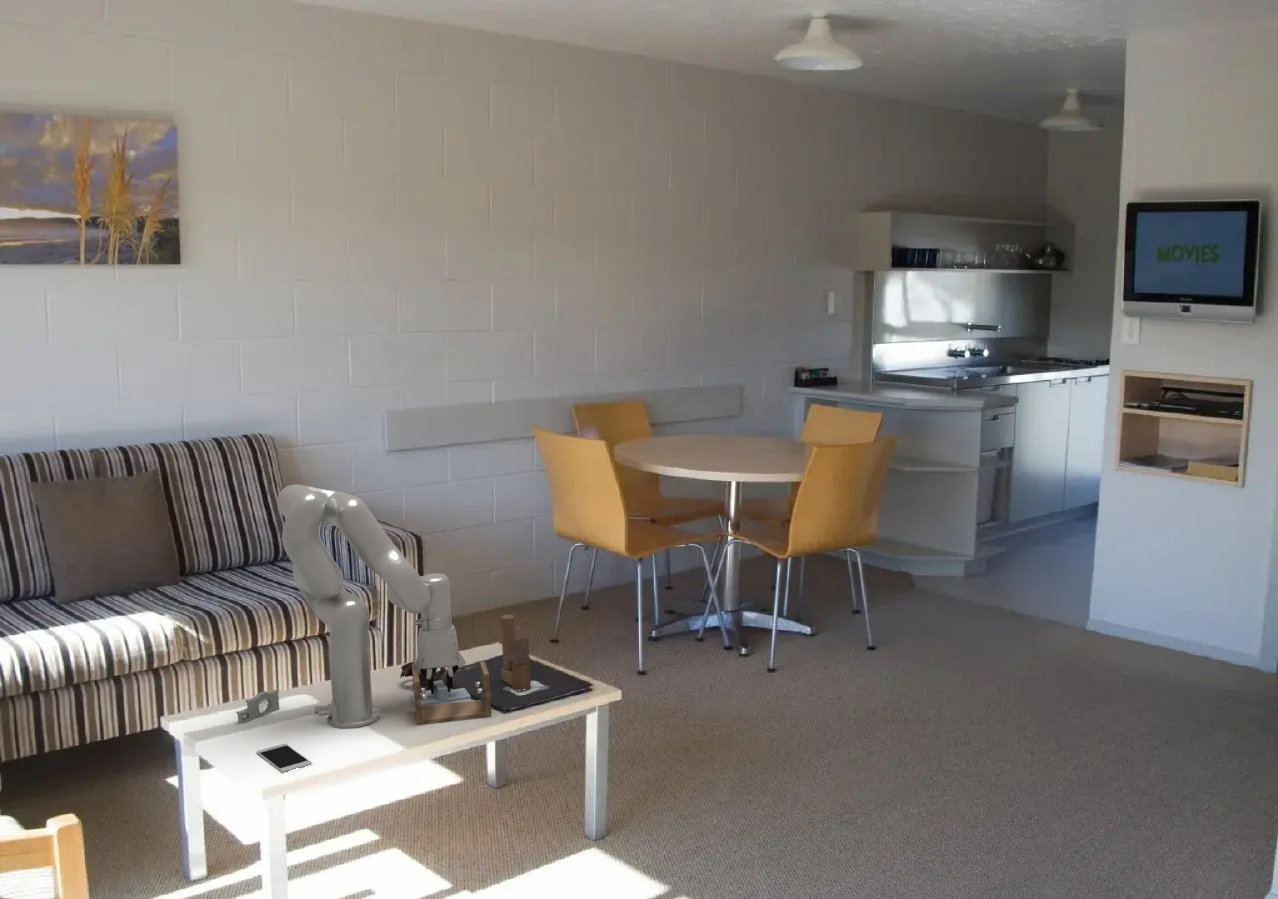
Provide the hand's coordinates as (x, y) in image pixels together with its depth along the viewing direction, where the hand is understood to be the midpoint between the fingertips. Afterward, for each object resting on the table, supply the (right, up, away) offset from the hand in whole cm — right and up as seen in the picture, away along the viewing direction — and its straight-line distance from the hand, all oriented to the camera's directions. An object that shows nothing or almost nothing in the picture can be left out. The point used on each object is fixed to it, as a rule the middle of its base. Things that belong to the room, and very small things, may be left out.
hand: (440, 690), depth 314 cm
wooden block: (+19, 0, +9) cm, 21 cm away
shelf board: (0, -3, 0) cm, 3 cm away
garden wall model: (-44, -5, -8) cm, 45 cm away
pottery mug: (-6, -1, +11) cm, 12 cm away
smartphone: (-30, -9, -36) cm, 47 cm away
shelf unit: (+5, -4, -11) cm, 12 cm away
